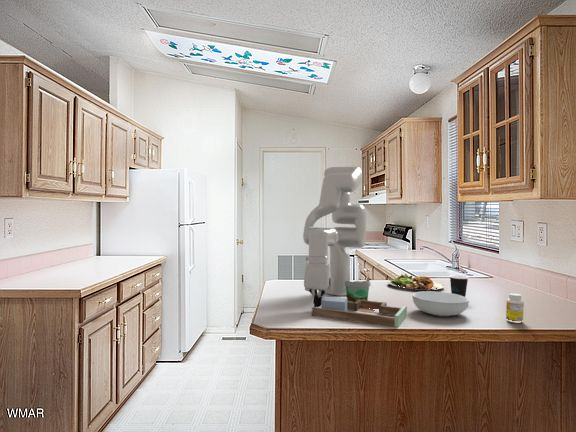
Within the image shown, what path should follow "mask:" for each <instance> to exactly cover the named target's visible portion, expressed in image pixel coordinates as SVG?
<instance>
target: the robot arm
mask: <svg viewBox="0 0 576 432" xmlns="http://www.w3.org/2000/svg"><path fill="white" fill-rule="evenodd" d="M362 172H363V171H362V169H361V168H360V167H358V166H332V167H331V166H330V167H327V168H326V169H325V170H324V172H323V174H324V177H323V179H322V184H321V190H320V191H321V192H320V196H319V203H318V205H317V206H315V207H314V208H313V209H312V210H311V211H310V213H309V214H308V215H307V217H306V220H305V223H304V227H303V234H302V235H303V236H302V239H303V242H304V243H305V245H307V246H308V255H307V256H305V261H307V263H306V265H305V269H304V277H303V287H304V291H307V292H308V293H310V294H311V295H312V297H313V298H312V299H313V302H312V304H313V307H316V308H321V300H322V299H323V296H324V295H325V294H327V295H330V296H337V297H345V296H346V286H344V285H345V282H346V281H350V282H351V280H350V279H351V256H350V253H349V252H348V250H347V249H348V248H349V249H351V248H353V249H358V248H359V249H360V248H364V247H365V245H366V241H367V212H366V207H365V206H364V205H362V204H358V203H351V193H354V192H355V191H356V190H357V189H358V187H359V186H360V184H361V183H362V180H363V173H362ZM330 214H331V219H332V222H333V223H335V224H339V225H353V226H354V227H351V226H334V227H332V228H331V227H314V226H315V224H316V222H318V220H320V219H321V218H323V217H325V216H328V215H330ZM346 248H347V249H346ZM328 254H329V256H328ZM328 259H329V260H328ZM328 261H329V263H328ZM346 297H347V296H346Z"/></svg>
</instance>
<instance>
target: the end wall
mask: <svg viewBox="0 0 576 432" xmlns="http://www.w3.org/2000/svg"><path fill="white" fill-rule="evenodd" d="M400 308H401V309H400V310H399V311H398V312H397V314H396V315H395V316H394V317H395V328H399V327H400V326H401V324H402V323H403V322H404V320H405V319H406V318H407V317H408V316H407V313H408V306H407V305H403V306H402V307H400ZM406 316H407V317H406ZM405 317H406V318H405ZM404 318H405V319H404ZM402 321H403V322H402ZM401 322H402V323H401Z"/></svg>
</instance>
